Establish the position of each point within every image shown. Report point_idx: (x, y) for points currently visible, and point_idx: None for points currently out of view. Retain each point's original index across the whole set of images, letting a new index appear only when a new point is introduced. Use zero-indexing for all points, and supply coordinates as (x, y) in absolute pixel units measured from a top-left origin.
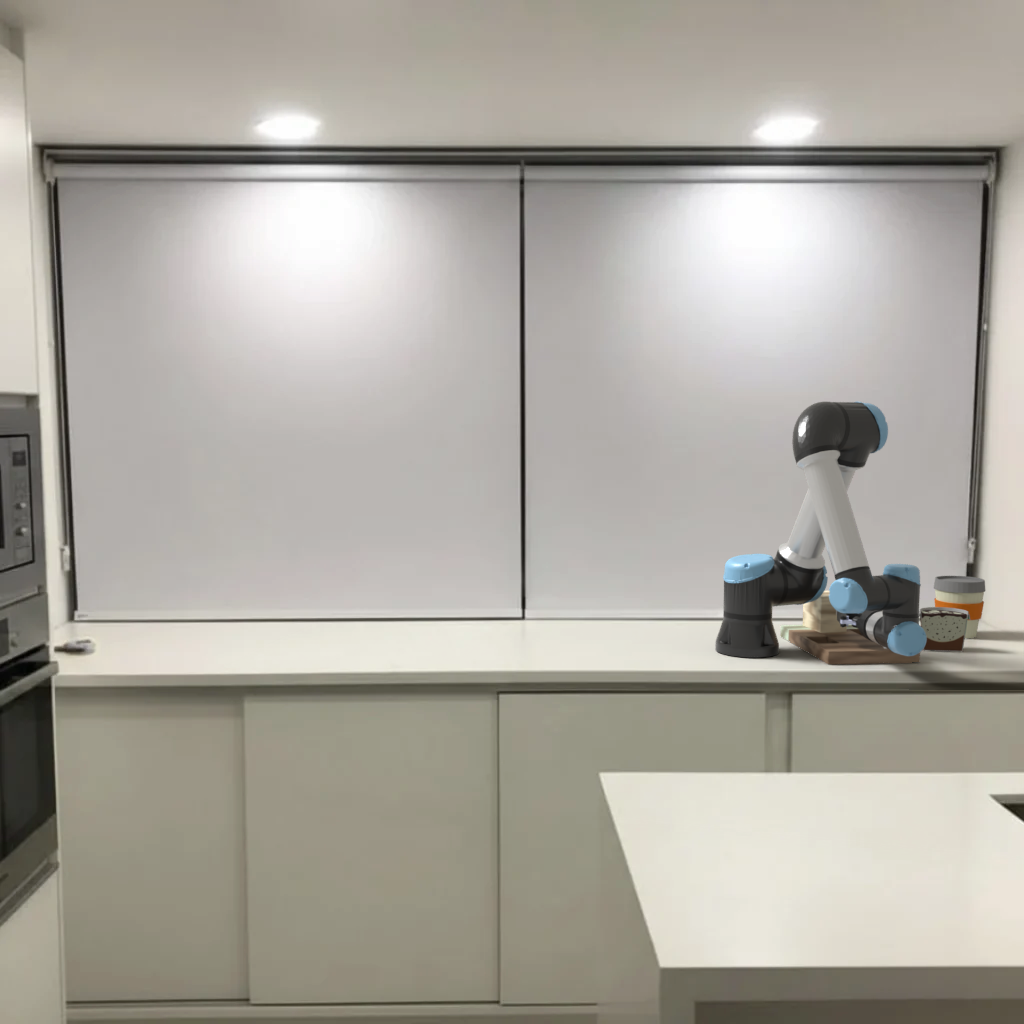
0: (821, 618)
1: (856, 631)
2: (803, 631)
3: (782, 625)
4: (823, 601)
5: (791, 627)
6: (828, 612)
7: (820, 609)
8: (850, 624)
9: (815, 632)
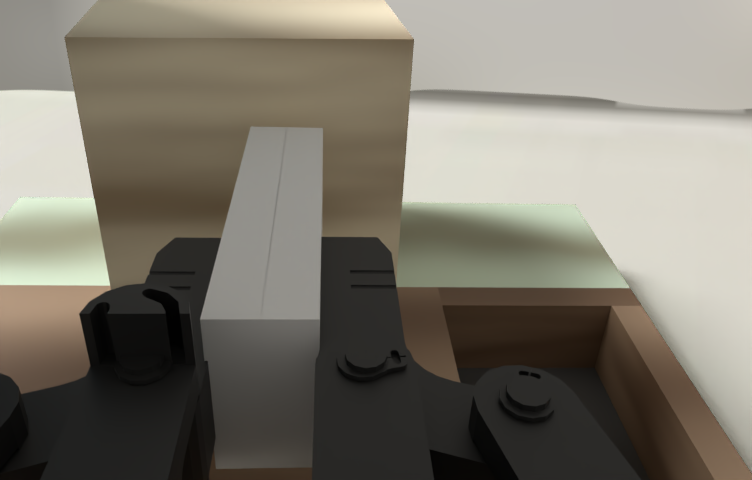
0: (110, 265)
1: (502, 318)
2: (10, 335)
3: (27, 200)
4: (99, 88)
5: (37, 238)
6: (184, 208)
7: (96, 171)
8: (498, 208)
9: (88, 369)
